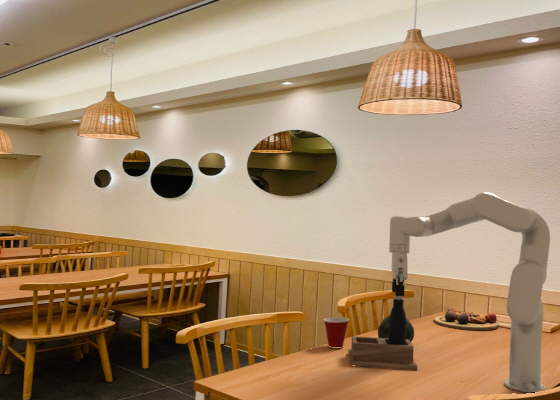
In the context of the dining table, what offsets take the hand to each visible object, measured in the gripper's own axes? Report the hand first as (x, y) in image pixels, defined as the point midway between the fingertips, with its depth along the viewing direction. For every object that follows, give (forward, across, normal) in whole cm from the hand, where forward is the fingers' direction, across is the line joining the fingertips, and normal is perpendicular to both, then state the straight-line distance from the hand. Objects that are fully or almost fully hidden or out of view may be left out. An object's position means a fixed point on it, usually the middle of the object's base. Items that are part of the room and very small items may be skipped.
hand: (397, 294), depth 201 cm
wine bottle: (+24, 0, 0) cm, 24 cm away
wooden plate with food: (+26, +81, -47) cm, 98 cm away
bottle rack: (+26, 0, +6) cm, 26 cm away
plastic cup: (+26, +17, +22) cm, 38 cm away
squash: (+26, +26, -4) cm, 37 cm away
